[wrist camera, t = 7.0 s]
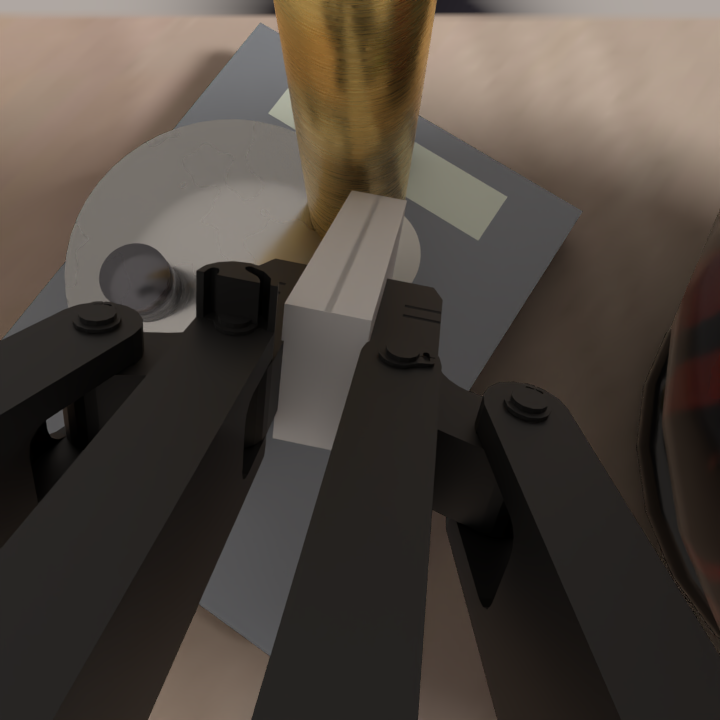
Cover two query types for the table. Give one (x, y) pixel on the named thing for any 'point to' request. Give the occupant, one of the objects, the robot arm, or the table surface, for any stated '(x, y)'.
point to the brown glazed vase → (687, 439)
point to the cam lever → (260, 164)
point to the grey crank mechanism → (413, 265)
